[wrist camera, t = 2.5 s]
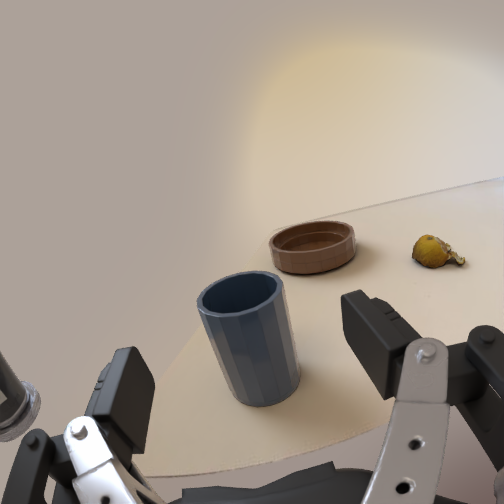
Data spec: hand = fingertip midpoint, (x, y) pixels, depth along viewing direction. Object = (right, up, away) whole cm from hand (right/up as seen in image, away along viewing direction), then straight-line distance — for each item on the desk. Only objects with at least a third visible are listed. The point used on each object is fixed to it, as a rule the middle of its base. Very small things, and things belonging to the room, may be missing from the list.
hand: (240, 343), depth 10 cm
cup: (+2, -9, +15) cm, 18 cm away
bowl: (+11, +3, +38) cm, 40 cm away
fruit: (+29, +2, +27) cm, 39 cm away
